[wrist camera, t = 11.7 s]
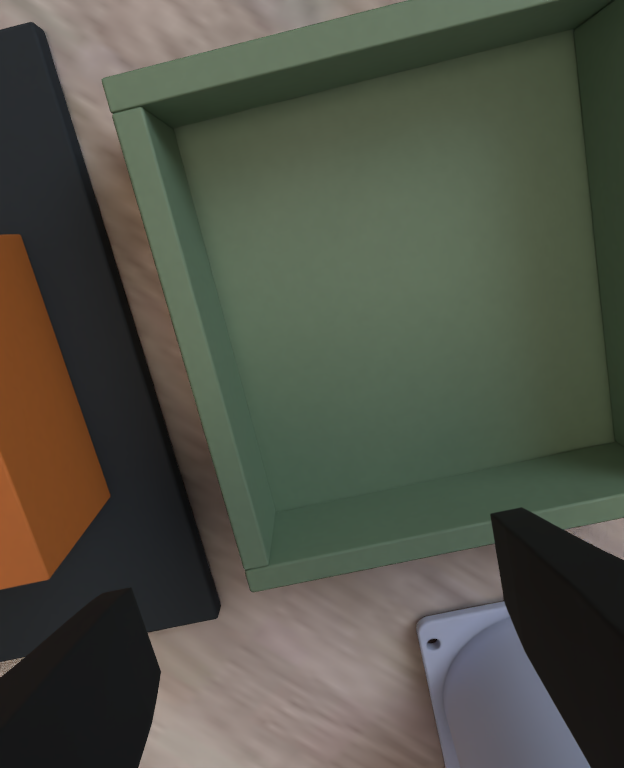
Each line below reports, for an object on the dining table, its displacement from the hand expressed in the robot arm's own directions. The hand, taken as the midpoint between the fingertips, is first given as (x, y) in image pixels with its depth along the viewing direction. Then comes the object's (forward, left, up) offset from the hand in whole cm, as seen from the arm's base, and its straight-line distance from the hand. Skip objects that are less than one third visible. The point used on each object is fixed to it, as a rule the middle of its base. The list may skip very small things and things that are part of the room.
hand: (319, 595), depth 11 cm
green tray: (+4, -4, -9) cm, 11 cm away
